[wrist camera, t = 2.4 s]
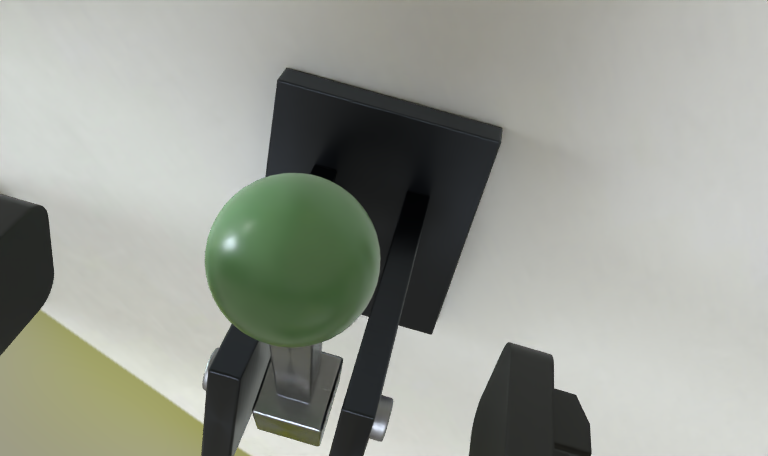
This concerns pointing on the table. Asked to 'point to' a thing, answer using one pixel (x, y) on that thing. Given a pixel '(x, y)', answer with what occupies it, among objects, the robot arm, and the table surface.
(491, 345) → the table surface
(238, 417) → the switch bracket
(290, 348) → the switch lever
